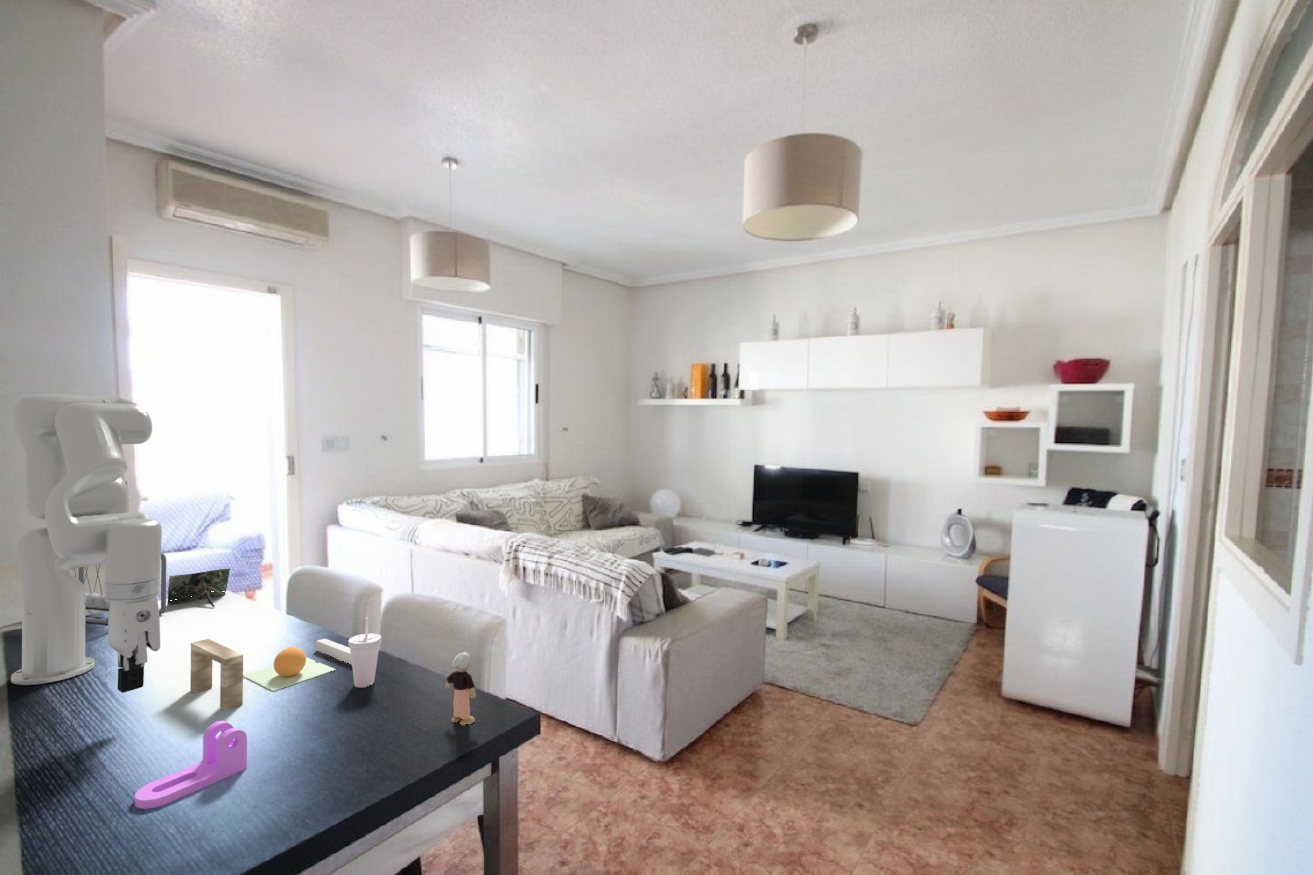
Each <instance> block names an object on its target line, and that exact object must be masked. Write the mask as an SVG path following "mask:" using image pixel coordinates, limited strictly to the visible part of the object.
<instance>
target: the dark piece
mask: <svg viewBox="0 0 1313 875" xmlns="http://www.w3.org/2000/svg"><path fill="white" fill-rule="evenodd" d="M230 571H231V568H220V569H212V570H207V571H200V572H196V573H195V572H194V573H187V574H176V575H169V579H168V587H167V602H166V607H167V606H172V605H176V604H182V603H187V602H193V601H200V600H204V599H206V600H207V602H208V603H209V604H210V605H211V607H212V608H215V607H216V606H215V604H214V602H213V600H212V598H214V597H220V596H225V595H226V594H227V589H228V581H229V577H230ZM211 591H214V592H211ZM222 591H225V592H226V593H225V592H222ZM191 596H192V597H191ZM175 599H177V600H175ZM170 600H172V601H170Z"/></svg>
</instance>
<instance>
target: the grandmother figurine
mask: <svg viewBox="0 0 1313 875" xmlns="http://www.w3.org/2000/svg"><path fill="white" fill-rule="evenodd" d="M470 659H471V655H470V654H469V652H466V651H463V652H460V653H458V654H457V655H456V656H455V657H454V659H453V660H452V663H451V667H452V668H455V670H456V671H453V672H452V673H450V674H449V675H448V676H447V677H446V682H445V686H444V688H445V689H450V688H451V686H453V689H454V692H453V717H452V718H451V719H450V722H451V721H452V722H451V723H454V722H456V723H459V725H460V724H461V726H466V725H465V724H468V725H471V724H474V723H475V722H476V719H475V717H474V716H472V715H471V707H470V699H475V698H476V697H477V695H476V688H475V684H474V681H473V677H472V675H471V674H470V673H469V672H467V671H468V670H469V668H470V666H471V664H470V662H471V660H470ZM452 684H453V685H452ZM462 719H463V720H462ZM460 720H461V721H460ZM458 721H459V722H458ZM473 722H474V723H473Z"/></svg>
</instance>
